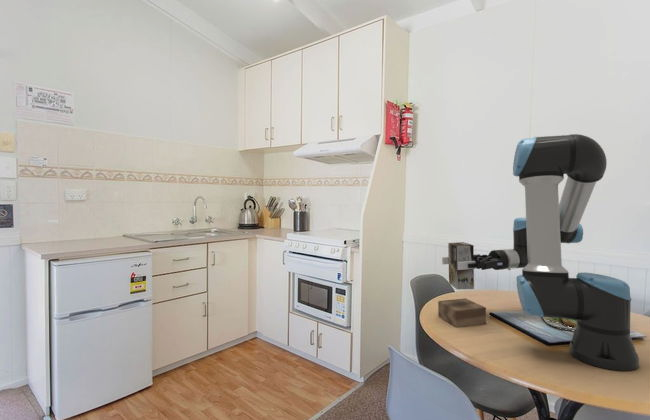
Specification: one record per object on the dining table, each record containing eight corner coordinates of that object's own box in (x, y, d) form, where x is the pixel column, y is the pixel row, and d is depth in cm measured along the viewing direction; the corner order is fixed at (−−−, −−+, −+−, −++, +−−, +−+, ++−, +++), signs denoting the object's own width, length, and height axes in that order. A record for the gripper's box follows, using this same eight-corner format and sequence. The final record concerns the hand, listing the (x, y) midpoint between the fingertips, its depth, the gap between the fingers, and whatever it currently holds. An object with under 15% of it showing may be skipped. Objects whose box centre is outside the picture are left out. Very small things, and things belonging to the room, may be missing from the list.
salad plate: (614, 339, 109) (614, 325, 109) (548, 332, 116) (548, 319, 116) (594, 319, 127) (594, 307, 127) (538, 314, 134) (538, 302, 134)
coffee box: (474, 289, 124) (474, 245, 123) (456, 289, 124) (456, 245, 124) (465, 283, 133) (464, 241, 133) (448, 283, 133) (447, 242, 133)
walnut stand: (486, 324, 124) (485, 307, 124) (456, 327, 122) (456, 310, 122) (466, 313, 136) (465, 298, 136) (438, 316, 134) (438, 300, 134)
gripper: (525, 275, 121) (468, 280, 117) (483, 263, 143) (434, 267, 139) (525, 254, 121) (468, 258, 116) (483, 245, 143) (434, 248, 138)
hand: (450, 263), depth 127 cm, fingers closed on coffee box, 10 cm apart
